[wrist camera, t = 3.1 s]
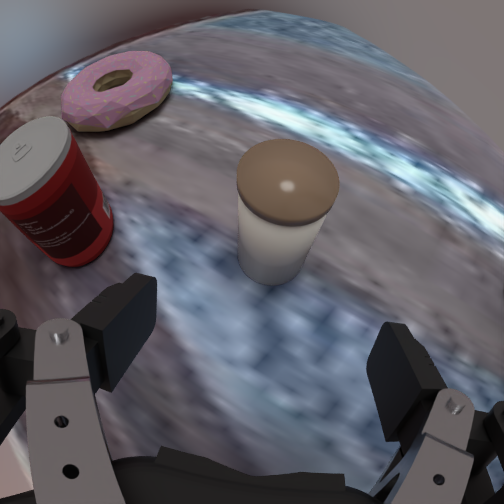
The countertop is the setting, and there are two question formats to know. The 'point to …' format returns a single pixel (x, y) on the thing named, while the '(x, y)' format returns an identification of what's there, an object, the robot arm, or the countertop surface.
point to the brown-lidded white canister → (281, 207)
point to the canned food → (53, 193)
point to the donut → (116, 91)
